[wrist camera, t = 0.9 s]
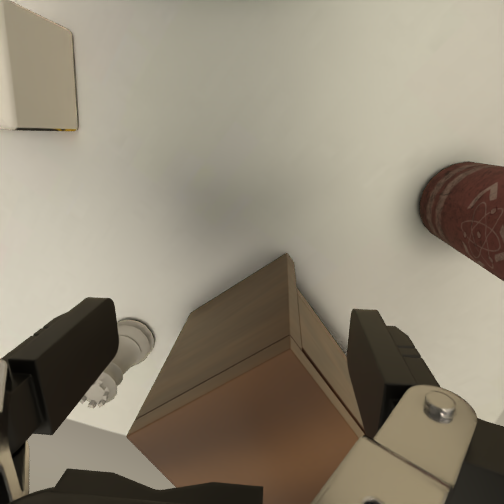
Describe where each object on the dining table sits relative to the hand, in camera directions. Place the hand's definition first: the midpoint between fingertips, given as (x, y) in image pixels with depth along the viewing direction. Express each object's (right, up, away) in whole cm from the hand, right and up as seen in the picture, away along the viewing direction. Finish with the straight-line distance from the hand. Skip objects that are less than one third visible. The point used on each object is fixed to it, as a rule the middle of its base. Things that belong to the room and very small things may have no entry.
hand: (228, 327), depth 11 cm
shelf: (+5, -7, +21) cm, 23 cm away
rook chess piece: (-11, -6, +22) cm, 26 cm away
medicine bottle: (-16, +16, +15) cm, 28 cm away
